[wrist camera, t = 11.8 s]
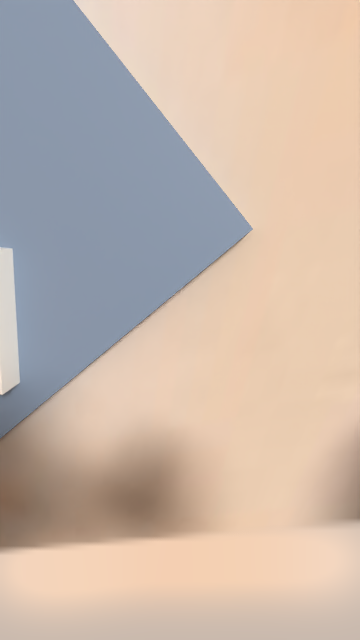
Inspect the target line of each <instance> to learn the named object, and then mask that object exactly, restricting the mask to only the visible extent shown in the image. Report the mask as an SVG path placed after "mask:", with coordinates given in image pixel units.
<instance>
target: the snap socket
mask: <svg viewBox="0 0 360 640" xmlns="http://www.w3.org/2000/svg"><path fill="white" fill-rule="evenodd" d="M19 383H20V374H19V356H18V338H17V320H16V303H15V285H14V267H13V249H12V248H2V247H0V395H3V394H4V393H6V392H7V391H9V390H10V389H12V388H13V387H14V386H16V385H17V384H19Z"/></svg>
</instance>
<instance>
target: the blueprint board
mask: <svg viewBox="0 0 360 640" xmlns="http://www.w3.org/2000/svg"><path fill="white" fill-rule="evenodd" d="M252 229H253V228H252V227H251V226H250V225H249V223H248V222H247V221H246V220H245V218H244V217H243V216H242V214H241V213H240V212H239V211H238V209H237V208H236V207H235V206H234V204H233V203H232V202H231V200H230V199H229V198H228V197H227V195H226V194H225V193H224V192H223V190H222V189H221V188H220V186H219V185H218V184H217V183H216V181H215V180H214V179H213V178H212V176H211V175H210V174H209V172H208V171H207V170H206V169H205V167H204V166H203V165H202V164H201V162H200V161H199V160H198V158H197V157H196V156H195V155H194V153H193V152H192V151H191V150H190V148H189V147H188V146H187V144H186V143H185V142H184V141H183V139H182V138H181V137H180V136H179V134H178V133H177V132H176V131H175V129H174V128H173V127H172V125H171V124H170V123H169V122H168V120H167V119H166V118H165V117H164V115H163V114H162V113H161V111H160V110H159V109H158V108H157V106H156V105H155V104H154V103H153V101H152V100H151V99H150V97H149V96H148V95H147V94H146V92H145V91H144V90H143V89H142V87H141V86H140V85H139V83H138V82H137V81H136V80H135V78H134V77H133V76H132V75H131V73H130V72H129V71H128V69H127V68H126V67H125V66H124V64H123V63H122V62H121V61H120V59H119V58H118V57H117V55H116V54H115V53H114V52H113V50H112V49H111V48H110V47H109V45H108V44H107V43H106V41H105V40H104V39H103V38H102V36H101V35H100V34H99V33H98V31H97V30H96V29H95V27H94V26H93V25H92V24H91V22H90V21H89V20H88V19H87V17H86V16H85V15H84V14H83V12H82V11H81V10H80V8H79V7H78V6H77V5H76V3H75V2H74V1H73V0H0V247H2V248H12V249H13V267H14V285H15V303H16V320H17V338H18V356H19V374H20V383H19V384H17V385H16V386H14V387H13V388H12V389H10V390H9V391H7V392H6V393H4V394H3V395H0V438H1V437H3V436H4V435H5V434H6V433H7V432H9V431H10V430H11V429H12V428H13V427H15V426H16V425H17V424H18V423H19V422H21V421H22V420H23V419H24V418H25V417H27V416H28V415H29V414H30V413H32V412H33V411H34V410H35V409H36V408H38V407H39V406H40V405H41V404H42V403H44V402H45V401H46V400H47V399H48V398H50V397H51V396H52V395H53V394H54V393H56V392H57V391H58V390H59V389H60V388H62V387H63V386H64V385H65V384H67V383H68V382H69V381H70V380H71V379H73V378H74V377H75V376H76V375H77V374H79V373H80V372H81V371H82V370H83V369H85V368H86V367H87V366H88V365H89V364H91V363H92V362H93V361H94V360H95V359H97V358H98V357H99V356H100V355H101V354H103V353H104V352H105V351H106V350H108V349H109V348H110V347H111V346H112V345H114V344H115V343H116V342H117V341H118V340H120V339H121V338H122V337H123V336H124V335H126V334H127V333H128V332H129V331H130V330H132V329H133V328H134V327H135V326H136V325H138V324H139V323H140V322H141V321H142V320H144V319H145V318H146V317H147V316H149V315H150V314H151V313H152V312H153V311H155V310H156V309H157V308H158V307H159V306H161V305H162V304H163V303H164V302H165V301H167V300H168V299H169V298H170V297H171V296H173V295H174V294H175V293H176V292H177V291H179V290H180V289H181V288H182V287H184V286H185V285H186V284H187V283H188V282H190V281H191V280H192V279H193V278H194V277H196V276H197V275H198V274H199V273H200V272H202V271H203V270H204V269H205V268H206V267H208V266H209V265H210V264H211V263H212V262H214V261H215V260H216V259H217V258H218V257H220V256H221V255H222V254H223V253H225V252H226V251H227V250H228V249H229V248H231V247H232V246H233V245H234V244H235V243H237V242H238V241H239V240H240V239H241V238H243V237H244V236H245V235H246V234H247V233H249V232H250V231H251V230H252Z"/></svg>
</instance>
